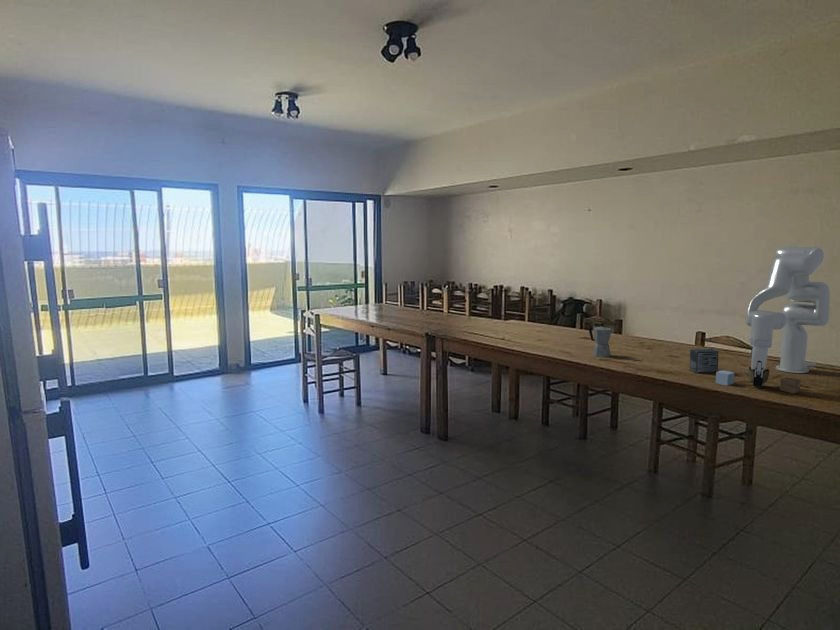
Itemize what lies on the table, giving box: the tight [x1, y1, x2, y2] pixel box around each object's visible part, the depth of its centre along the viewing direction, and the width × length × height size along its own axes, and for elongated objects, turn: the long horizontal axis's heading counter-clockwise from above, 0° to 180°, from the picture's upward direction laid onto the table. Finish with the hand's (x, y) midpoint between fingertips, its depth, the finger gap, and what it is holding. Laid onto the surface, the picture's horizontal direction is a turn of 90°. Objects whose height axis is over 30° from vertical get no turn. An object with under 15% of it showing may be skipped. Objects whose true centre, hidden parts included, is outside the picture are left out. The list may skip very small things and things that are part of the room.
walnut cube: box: [779, 376, 801, 394], centre depth 208 cm, size 5×5×5 cm
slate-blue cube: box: [715, 369, 736, 386], centre depth 221 cm, size 5×5×5 cm
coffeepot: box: [588, 322, 614, 358], centre depth 280 cm, size 15×9×18 cm, turn 33°
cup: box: [748, 366, 771, 389], centre depth 214 cm, size 8×7×8 cm
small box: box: [689, 348, 719, 374], centre depth 241 cm, size 11×6×10 cm, turn 92°
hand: (757, 384), depth 214 cm, fingers closed on cup, 6 cm apart
